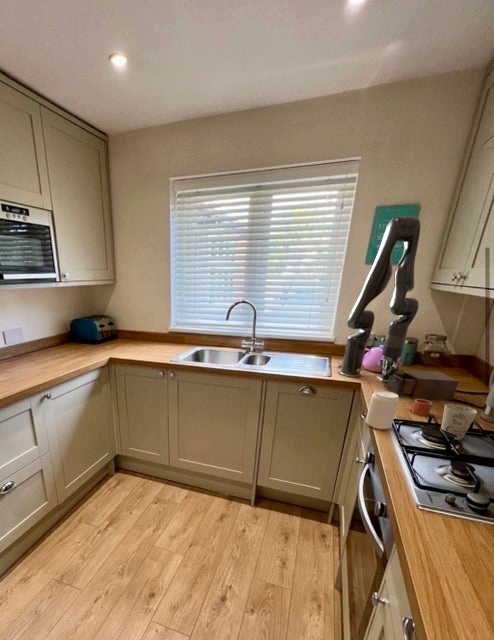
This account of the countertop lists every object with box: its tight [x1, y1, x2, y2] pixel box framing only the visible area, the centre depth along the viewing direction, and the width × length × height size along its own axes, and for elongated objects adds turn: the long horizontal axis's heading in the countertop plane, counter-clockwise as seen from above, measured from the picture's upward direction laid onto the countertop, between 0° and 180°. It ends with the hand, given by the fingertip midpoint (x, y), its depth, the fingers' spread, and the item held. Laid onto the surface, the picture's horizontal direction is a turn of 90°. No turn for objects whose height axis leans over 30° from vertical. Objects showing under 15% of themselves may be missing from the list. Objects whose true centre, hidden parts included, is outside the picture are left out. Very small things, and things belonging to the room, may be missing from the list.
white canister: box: [365, 390, 400, 430], centre depth 116 cm, size 8×8×12 cm
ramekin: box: [411, 398, 433, 417], centre depth 129 cm, size 6×6×5 cm
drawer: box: [376, 372, 417, 396], centre depth 150 cm, size 21×12×7 cm, turn 83°
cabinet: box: [401, 369, 460, 401], centre depth 149 cm, size 16×14×9 cm
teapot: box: [362, 344, 403, 373], centre depth 181 cm, size 22×22×14 cm
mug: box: [440, 403, 478, 441], centre depth 111 cm, size 8×13×10 cm, turn 135°
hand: (384, 382), depth 151 cm, fingers closed
